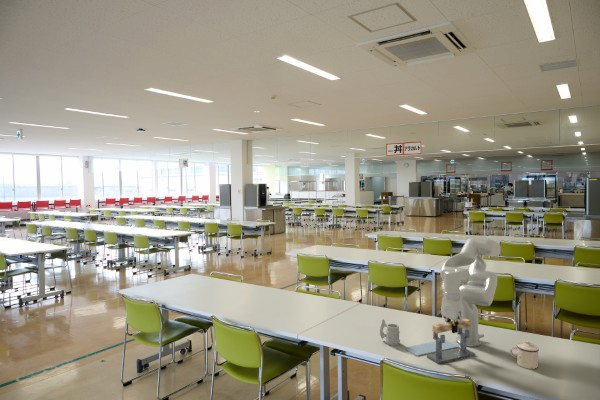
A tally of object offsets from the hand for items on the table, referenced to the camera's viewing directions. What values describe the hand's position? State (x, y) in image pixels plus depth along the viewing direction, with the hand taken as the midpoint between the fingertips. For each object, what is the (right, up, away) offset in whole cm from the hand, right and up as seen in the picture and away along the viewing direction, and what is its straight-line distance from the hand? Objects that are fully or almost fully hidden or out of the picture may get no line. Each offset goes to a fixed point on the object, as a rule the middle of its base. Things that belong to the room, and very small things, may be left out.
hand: (451, 331), depth 193 cm
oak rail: (0, +3, 0) cm, 3 cm away
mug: (-27, -13, +18) cm, 35 cm away
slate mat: (-7, -13, +10) cm, 18 cm away
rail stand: (0, -13, 0) cm, 13 cm away
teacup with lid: (+31, -13, -8) cm, 35 cm away
